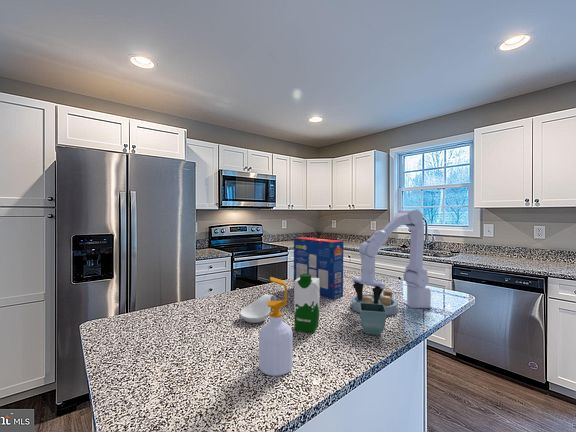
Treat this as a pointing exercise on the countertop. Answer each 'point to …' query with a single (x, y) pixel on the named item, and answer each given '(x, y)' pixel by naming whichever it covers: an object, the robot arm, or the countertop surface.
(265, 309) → the spoon rest
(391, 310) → the ring tray
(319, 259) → the pasta box
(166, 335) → the countertop surface
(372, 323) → the flower pot
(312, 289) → the milk carton
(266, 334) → the soap bottle
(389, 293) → the bead
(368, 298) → the bead
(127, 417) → the countertop surface
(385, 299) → the bead
